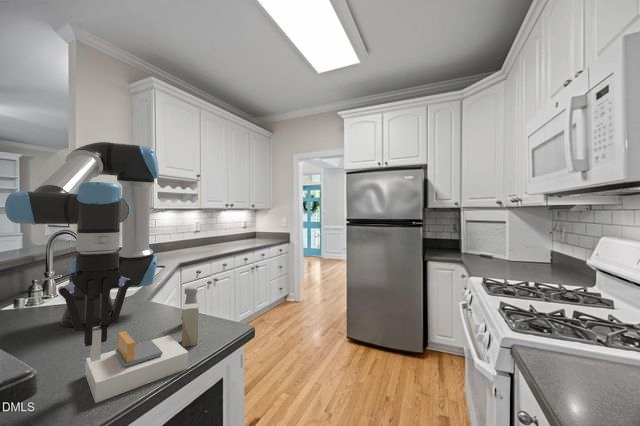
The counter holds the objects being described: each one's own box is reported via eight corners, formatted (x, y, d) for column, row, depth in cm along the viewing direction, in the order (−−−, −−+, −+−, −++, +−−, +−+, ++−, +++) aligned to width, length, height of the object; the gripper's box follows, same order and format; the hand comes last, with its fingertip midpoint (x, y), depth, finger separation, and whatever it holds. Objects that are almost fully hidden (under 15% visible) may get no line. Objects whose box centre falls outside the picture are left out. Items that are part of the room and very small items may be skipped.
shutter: (115, 352, 67) (115, 332, 67) (150, 342, 72) (150, 324, 72) (124, 367, 60) (125, 345, 60) (162, 355, 66) (162, 334, 66)
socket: (85, 375, 64) (86, 358, 64) (168, 349, 77) (168, 335, 78) (95, 403, 55) (95, 383, 55) (188, 368, 68) (188, 352, 68)
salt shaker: (192, 327, 93) (192, 289, 93) (177, 326, 94) (178, 288, 94) (202, 321, 99) (203, 285, 99) (188, 320, 100) (189, 284, 100)
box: (182, 340, 83) (183, 304, 84) (198, 338, 85) (198, 302, 85) (181, 347, 79) (182, 309, 79) (197, 345, 80) (198, 307, 80)
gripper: (59, 255, 53) (55, 377, 53) (137, 250, 63) (134, 353, 62) (56, 252, 59) (53, 363, 58) (129, 248, 68) (126, 343, 68)
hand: (95, 358), depth 60 cm, fingers closed
